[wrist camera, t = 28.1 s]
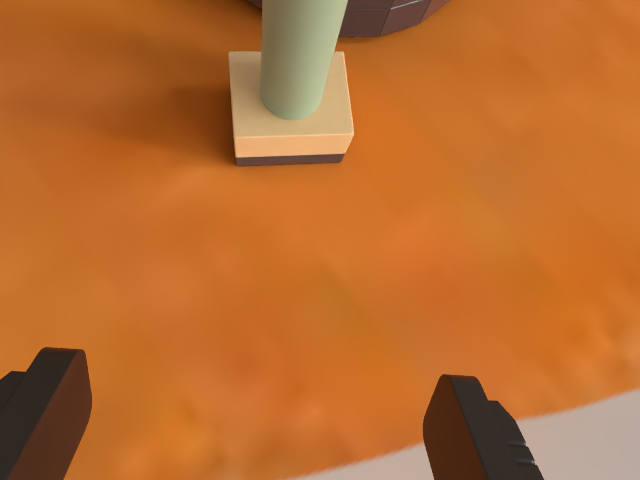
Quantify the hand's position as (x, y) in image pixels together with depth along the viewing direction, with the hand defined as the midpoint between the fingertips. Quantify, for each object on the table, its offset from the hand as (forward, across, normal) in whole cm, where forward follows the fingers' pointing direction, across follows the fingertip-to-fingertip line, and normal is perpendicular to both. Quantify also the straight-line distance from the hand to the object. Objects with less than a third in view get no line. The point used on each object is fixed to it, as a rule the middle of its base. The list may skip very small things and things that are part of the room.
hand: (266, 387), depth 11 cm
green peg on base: (+15, 0, -2) cm, 15 cm away
